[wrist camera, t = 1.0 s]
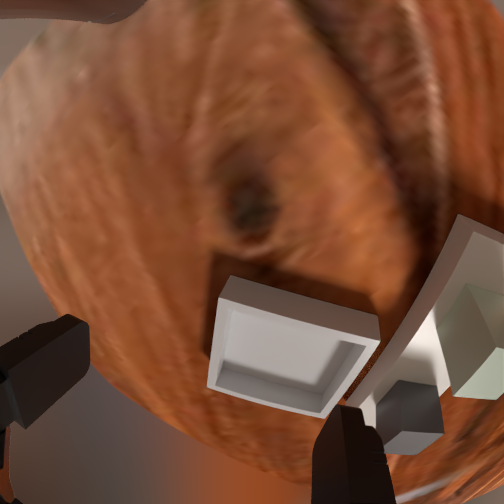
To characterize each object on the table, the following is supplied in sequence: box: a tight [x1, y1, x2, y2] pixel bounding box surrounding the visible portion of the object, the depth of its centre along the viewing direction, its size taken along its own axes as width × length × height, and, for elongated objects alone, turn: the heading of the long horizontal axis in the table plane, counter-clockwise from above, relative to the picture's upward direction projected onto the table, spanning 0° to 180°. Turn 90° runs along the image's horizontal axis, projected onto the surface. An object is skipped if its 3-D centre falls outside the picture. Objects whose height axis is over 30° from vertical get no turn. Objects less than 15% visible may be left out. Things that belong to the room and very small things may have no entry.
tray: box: [207, 275, 381, 419], centre depth 31 cm, size 15×15×4 cm
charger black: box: [376, 380, 444, 455], centre depth 27 cm, size 5×5×9 cm
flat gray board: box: [345, 214, 504, 428], centre depth 26 cm, size 28×9×4 cm, turn 169°
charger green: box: [436, 283, 504, 400], centre depth 19 cm, size 5×5×10 cm
